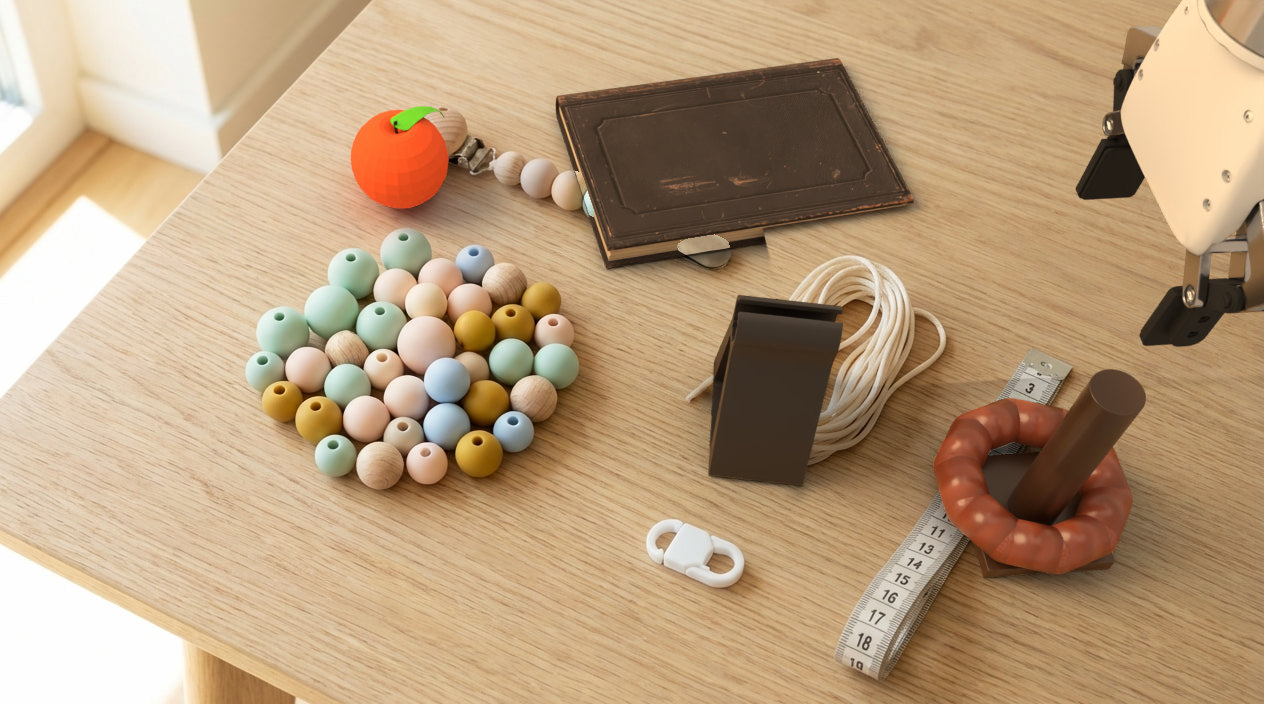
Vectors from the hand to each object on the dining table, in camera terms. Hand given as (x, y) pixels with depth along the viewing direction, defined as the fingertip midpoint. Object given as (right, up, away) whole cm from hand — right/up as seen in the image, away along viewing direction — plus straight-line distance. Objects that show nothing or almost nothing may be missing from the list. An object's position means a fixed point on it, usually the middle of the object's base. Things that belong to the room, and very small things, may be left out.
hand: (1134, 263), depth 63 cm
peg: (-1, -14, +13) cm, 20 cm away
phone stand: (-17, -9, +16) cm, 25 cm away
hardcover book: (-18, +10, +29) cm, 36 cm away
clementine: (-41, +8, +27) cm, 50 cm away
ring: (-1, -12, +12) cm, 17 cm away
